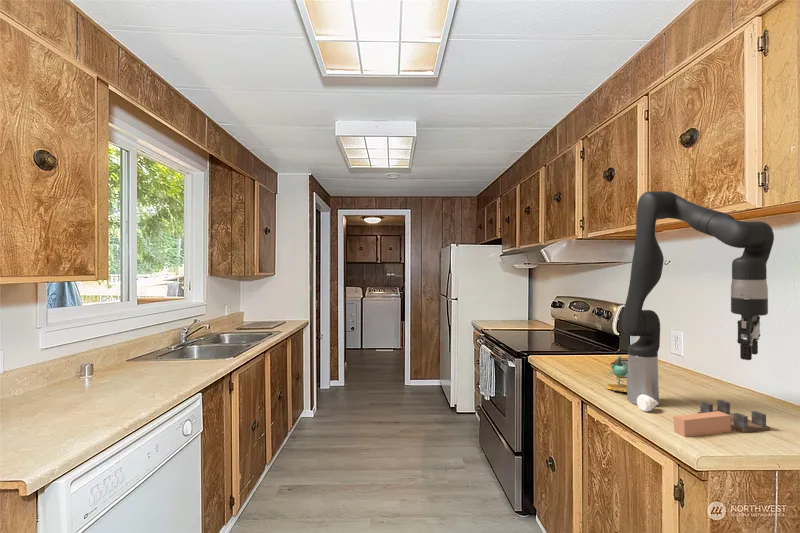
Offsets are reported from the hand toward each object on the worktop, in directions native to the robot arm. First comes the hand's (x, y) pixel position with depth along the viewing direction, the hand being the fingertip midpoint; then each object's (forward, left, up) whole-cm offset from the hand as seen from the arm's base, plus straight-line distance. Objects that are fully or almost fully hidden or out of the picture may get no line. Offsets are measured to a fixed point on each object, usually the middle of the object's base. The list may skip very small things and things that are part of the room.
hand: (749, 356), depth 109 cm
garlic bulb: (-31, -4, -25) cm, 40 cm away
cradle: (-16, +12, -24) cm, 32 cm away
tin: (-68, +20, -25) cm, 75 cm away
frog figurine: (-52, +2, -25) cm, 58 cm away
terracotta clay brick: (-12, -3, -25) cm, 28 cm away
